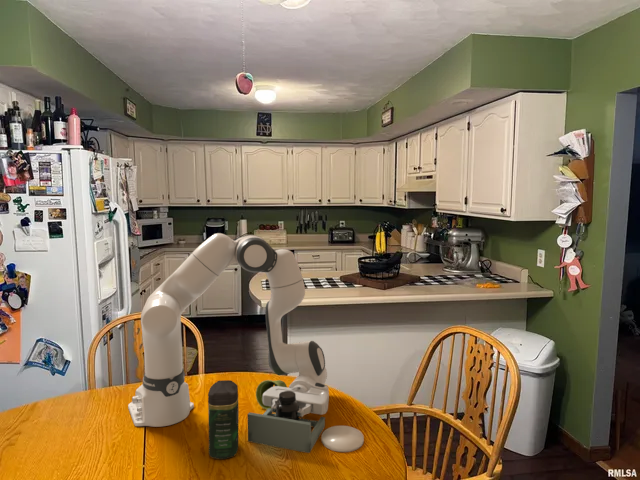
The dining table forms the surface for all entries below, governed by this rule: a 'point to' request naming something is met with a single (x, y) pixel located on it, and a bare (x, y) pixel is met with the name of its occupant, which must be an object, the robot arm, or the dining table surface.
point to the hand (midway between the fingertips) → (286, 412)
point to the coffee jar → (223, 419)
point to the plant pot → (264, 387)
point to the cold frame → (284, 431)
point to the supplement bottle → (287, 406)
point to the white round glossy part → (342, 438)
